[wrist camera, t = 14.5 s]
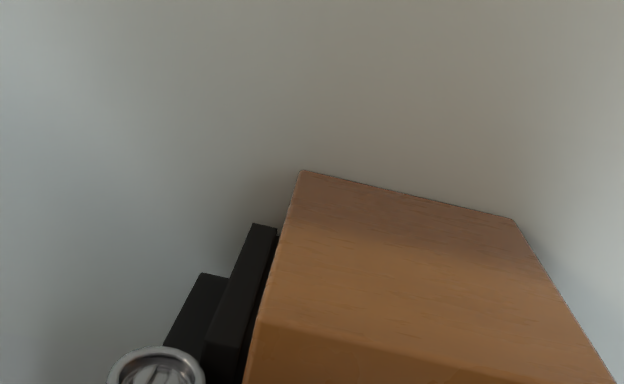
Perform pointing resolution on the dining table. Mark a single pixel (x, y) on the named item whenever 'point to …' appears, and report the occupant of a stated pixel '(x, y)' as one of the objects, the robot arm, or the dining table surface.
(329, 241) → the block
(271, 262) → the robot arm
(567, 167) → the dining table surface
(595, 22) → the dining table surface
